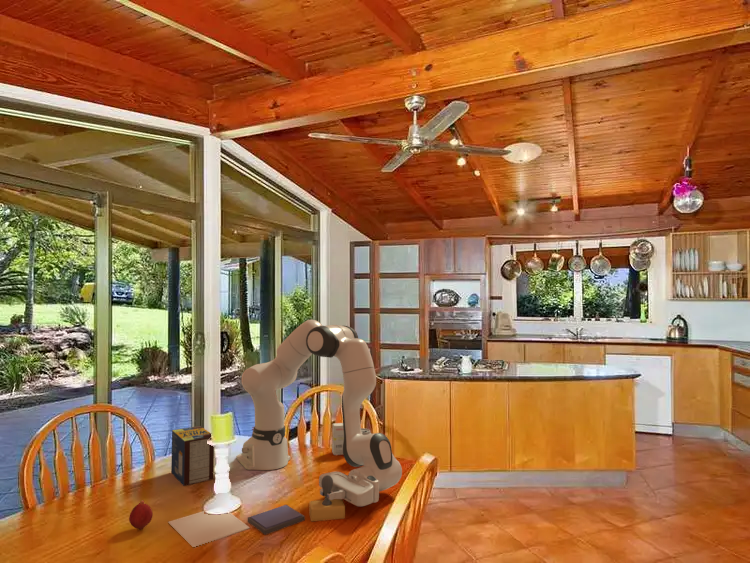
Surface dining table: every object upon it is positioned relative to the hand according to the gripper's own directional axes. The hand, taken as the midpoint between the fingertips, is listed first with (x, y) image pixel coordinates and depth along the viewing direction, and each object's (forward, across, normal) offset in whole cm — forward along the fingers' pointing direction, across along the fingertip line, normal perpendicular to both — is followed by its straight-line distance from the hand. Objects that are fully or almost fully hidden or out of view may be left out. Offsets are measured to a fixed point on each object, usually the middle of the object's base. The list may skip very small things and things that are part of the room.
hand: (324, 494), depth 145 cm
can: (-40, -29, +7) cm, 50 cm away
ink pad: (+12, -7, +6) cm, 15 cm away
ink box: (-40, -41, +7) cm, 58 cm away
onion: (+43, -27, +7) cm, 51 cm away
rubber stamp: (-1, 0, +7) cm, 7 cm away
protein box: (+17, -56, +7) cm, 59 cm away
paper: (+28, -17, +6) cm, 33 cm away
